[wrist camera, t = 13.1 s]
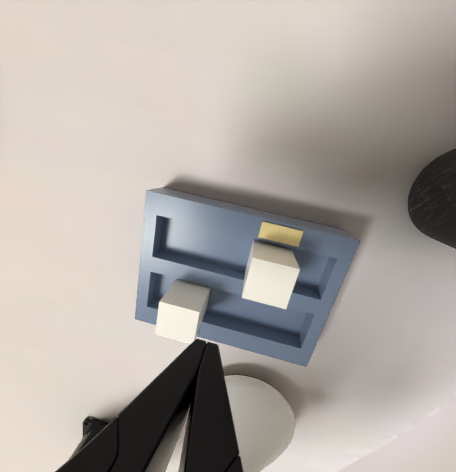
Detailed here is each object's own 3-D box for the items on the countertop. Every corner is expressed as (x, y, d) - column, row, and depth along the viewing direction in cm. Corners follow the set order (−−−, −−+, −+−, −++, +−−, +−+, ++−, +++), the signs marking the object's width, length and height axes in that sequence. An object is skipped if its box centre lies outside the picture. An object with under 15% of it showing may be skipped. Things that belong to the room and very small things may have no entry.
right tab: (279, 277, 18) (286, 309, 14) (245, 269, 19) (241, 297, 15) (290, 245, 18) (299, 269, 13) (253, 237, 18) (252, 257, 14)
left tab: (206, 309, 20) (192, 345, 16) (175, 301, 21) (154, 334, 16) (212, 281, 19) (199, 312, 15) (180, 273, 20) (159, 301, 16)
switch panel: (300, 341, 22) (306, 368, 19) (150, 300, 23) (133, 320, 20) (344, 229, 18) (361, 241, 15) (163, 187, 19) (145, 190, 16)
